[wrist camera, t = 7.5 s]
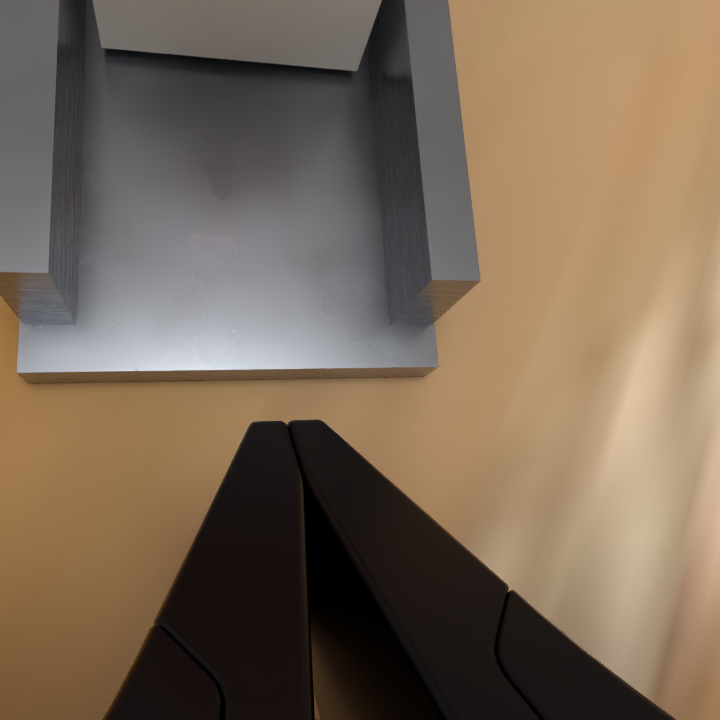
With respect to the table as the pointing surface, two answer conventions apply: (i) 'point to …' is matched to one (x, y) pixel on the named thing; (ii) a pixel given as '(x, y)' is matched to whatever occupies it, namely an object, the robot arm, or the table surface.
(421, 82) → the press housing
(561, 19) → the table surface
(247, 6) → the push button
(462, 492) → the table surface
